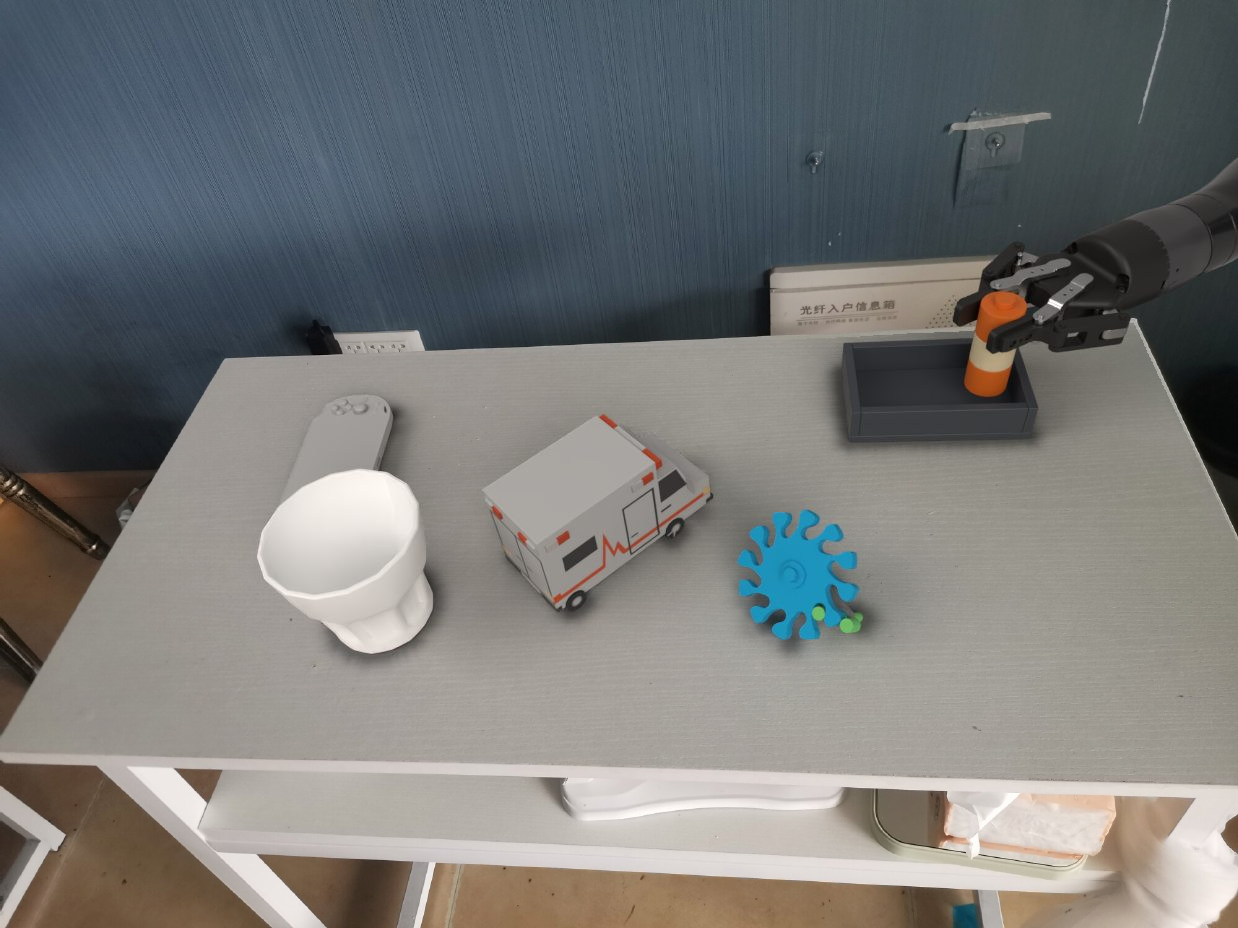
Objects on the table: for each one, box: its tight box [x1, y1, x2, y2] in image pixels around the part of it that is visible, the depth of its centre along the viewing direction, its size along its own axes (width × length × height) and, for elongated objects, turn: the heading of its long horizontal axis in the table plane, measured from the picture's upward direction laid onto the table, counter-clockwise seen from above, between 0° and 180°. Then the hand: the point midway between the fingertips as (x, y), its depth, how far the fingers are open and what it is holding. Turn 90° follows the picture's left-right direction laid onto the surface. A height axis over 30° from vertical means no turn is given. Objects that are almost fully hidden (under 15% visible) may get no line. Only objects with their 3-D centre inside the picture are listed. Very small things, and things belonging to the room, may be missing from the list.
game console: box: [276, 394, 394, 509], centre depth 86 cm, size 18×2×8 cm
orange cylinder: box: [964, 291, 1028, 397], centre depth 77 cm, size 4×4×10 cm
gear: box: [737, 509, 864, 641], centre depth 69 cm, size 11×6×10 cm
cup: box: [256, 469, 434, 655], centre depth 71 cm, size 12×12×11 cm
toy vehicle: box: [481, 413, 714, 613], centre depth 73 cm, size 10×17×10 cm, turn 129°
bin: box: [840, 337, 1040, 443], centre depth 82 cm, size 16×10×4 cm, turn 85°
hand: (973, 329), depth 74 cm, fingers closed on orange cylinder, 3 cm apart
